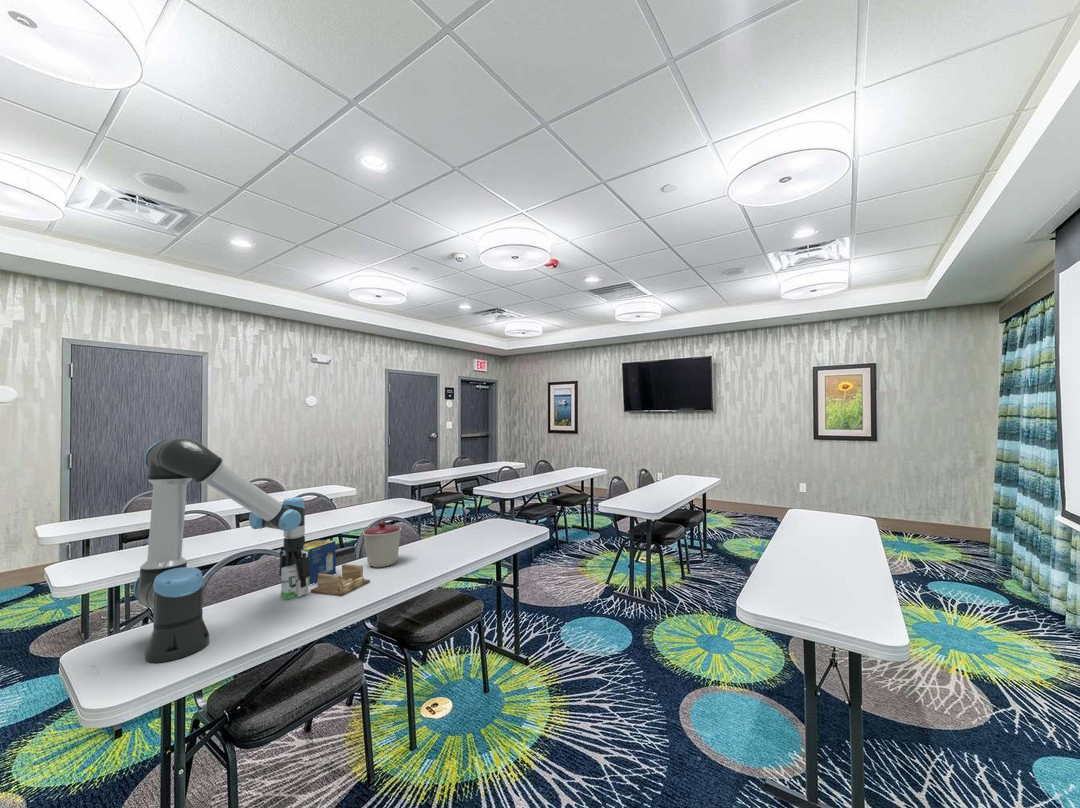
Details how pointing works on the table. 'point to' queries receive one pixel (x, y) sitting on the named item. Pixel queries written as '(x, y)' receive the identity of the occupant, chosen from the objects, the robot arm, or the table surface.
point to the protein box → (320, 558)
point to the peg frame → (341, 581)
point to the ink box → (290, 582)
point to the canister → (382, 544)
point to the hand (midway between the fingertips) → (294, 594)
